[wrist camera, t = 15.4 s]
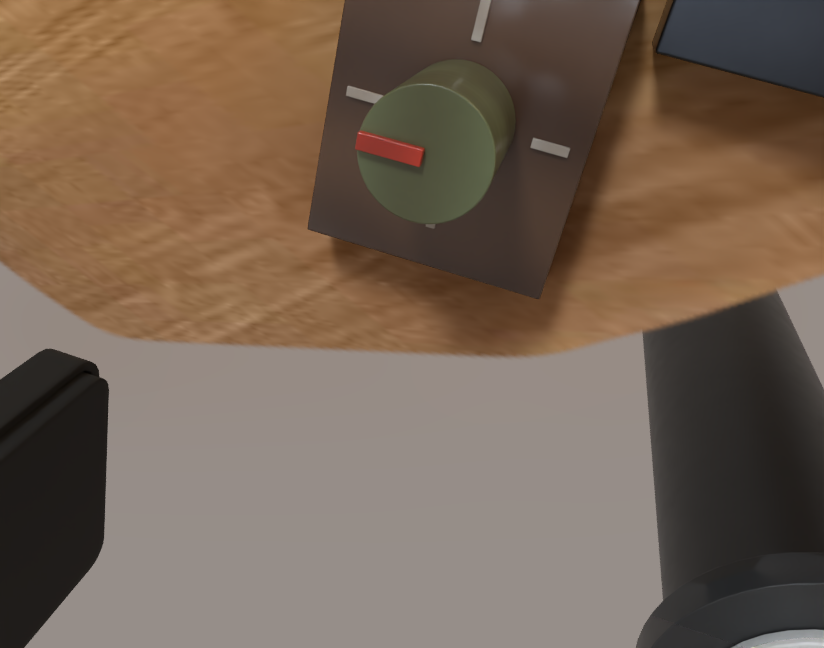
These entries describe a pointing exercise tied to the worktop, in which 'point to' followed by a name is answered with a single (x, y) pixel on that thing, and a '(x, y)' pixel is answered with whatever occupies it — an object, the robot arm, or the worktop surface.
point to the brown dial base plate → (533, 138)
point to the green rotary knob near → (436, 141)
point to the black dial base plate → (749, 39)
